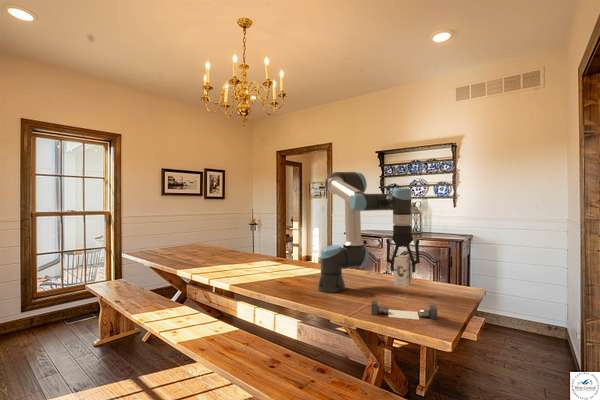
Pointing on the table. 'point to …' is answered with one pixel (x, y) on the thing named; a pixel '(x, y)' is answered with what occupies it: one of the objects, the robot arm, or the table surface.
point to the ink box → (402, 270)
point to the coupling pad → (403, 314)
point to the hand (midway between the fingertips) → (403, 279)
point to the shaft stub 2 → (429, 312)
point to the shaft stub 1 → (378, 308)
